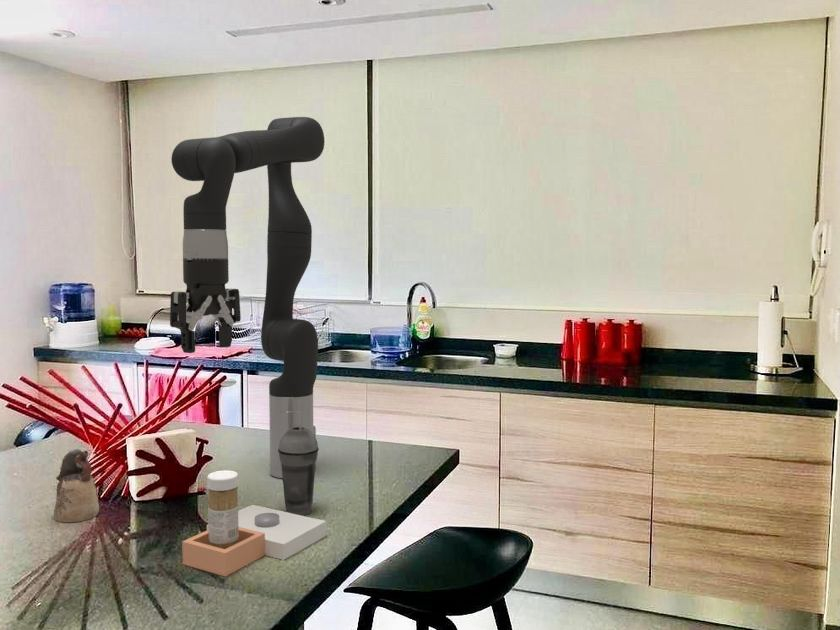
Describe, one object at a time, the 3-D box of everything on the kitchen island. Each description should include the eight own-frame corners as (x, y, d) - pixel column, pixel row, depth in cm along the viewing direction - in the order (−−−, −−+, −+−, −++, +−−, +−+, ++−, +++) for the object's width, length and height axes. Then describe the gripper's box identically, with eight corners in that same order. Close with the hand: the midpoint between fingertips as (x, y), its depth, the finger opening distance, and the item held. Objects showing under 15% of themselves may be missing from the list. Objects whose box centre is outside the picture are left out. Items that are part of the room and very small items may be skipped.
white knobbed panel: (252, 518, 126) (252, 499, 126) (326, 535, 118) (326, 515, 118) (165, 559, 109) (164, 536, 109) (244, 582, 101) (244, 558, 101)
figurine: (80, 506, 131) (78, 442, 131) (108, 512, 128) (106, 447, 127) (45, 518, 125) (43, 451, 124) (73, 525, 122) (71, 457, 121)
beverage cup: (303, 502, 135) (303, 397, 133) (327, 512, 129) (326, 403, 128) (270, 511, 130) (269, 403, 128) (293, 522, 124) (292, 409, 123)
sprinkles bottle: (228, 551, 112) (227, 467, 111) (245, 559, 109) (244, 473, 108) (202, 559, 109) (201, 473, 107) (218, 569, 105) (217, 480, 104)
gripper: (219, 256, 131) (220, 344, 132) (157, 256, 118) (159, 353, 120) (250, 256, 127) (251, 346, 128) (190, 256, 115) (192, 356, 116)
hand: (207, 349), depth 124 cm, fingers open, 8 cm apart
